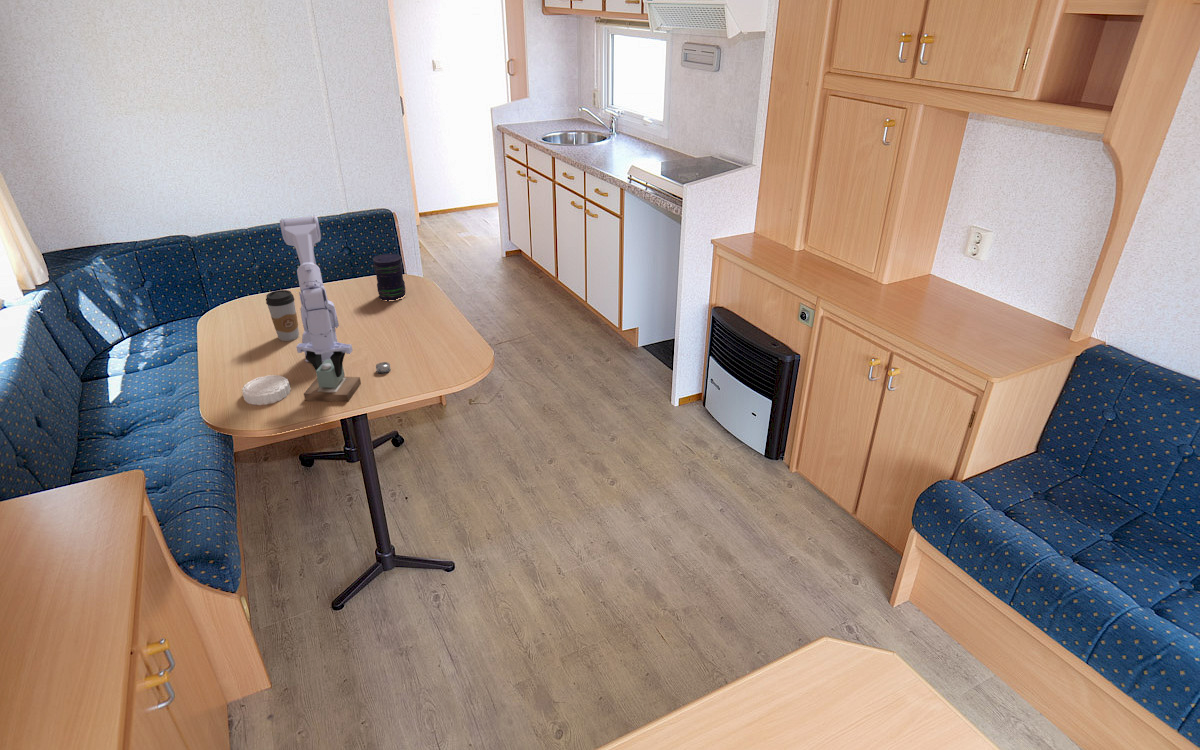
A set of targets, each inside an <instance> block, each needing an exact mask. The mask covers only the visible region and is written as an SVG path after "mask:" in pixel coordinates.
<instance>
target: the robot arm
mask: <svg viewBox="0 0 1200 750" xmlns="http://www.w3.org/2000/svg"><path fill="white" fill-rule="evenodd" d="M279 225H280V230H281V235H282V239H283V240H284V243H285V244H286V245H287V246H292V247H294V248H295V251H296V254H297V257H298V261H299V263H300V265H299V266H298V267H297V270H296V273H297V279H298V285H299V290H300V291H299V292H298V293H299V294H298V295H299V300H300V304H301V307H300V316H301V317H300V318H301V322H302V326H303V333H302V338H301V339H302V340H301V342H302V343H301V342H299V343H298V344H297V345H296V347H295V348H296V352H297V354H300V353H304V357H305V360H304V361H305V362H306V363H309V364H310V365H311V366H312V367H313V368H314V370H315V371H316V370H317V369H318V368H319V367H320V366H321V364H322V363H323V362H324V361H325V360H326V359H330V360H331V361H332V363H333V365H334V368H335V373H336V376H337V377H340V375H341V374H342V364H343V363H344V359H345V358H344V357H345V355H346V354H347V355H351V353H352V352H353V346H352V345H353V344H349V343H348V344H347V343H342V342H339V341H338V338H337V332H336V329H337V328H338V327H339V320H338V319H339V318H338V315H337V310H336V308H335V303H334V302H333V301H331V300H329V299H328V295H327V291H326V287H325V286H324V285H325V284H324V283H323V282H324V281H323V278H322V273H321V268H320V267H319V265H317V262H316V258H315V252H314V247H315V244H317V243H319V242H321V240H322V235H321V228H320V223H319V218H318V216H316V215H315V214H313V215H310V216H309V215H308V216H297V217H289V218H283V217H282V218H280V220H279Z"/></svg>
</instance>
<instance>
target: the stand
mask: <svg viewBox="0 0 1200 750" xmlns="http://www.w3.org/2000/svg"><path fill="white" fill-rule="evenodd" d="M361 384H362V382H361V377H360V376H344V377H343V378H342V380H341V381H340V382H339V384H338V385H337V386H336V387H335V388H329V387H319V384H318V379H317V377H316V378H315V379H314V381H313V382H312V383H311V384H310V386H309V387H307V390H305V391H304V393H303V396H304V400H305V401H310V402H349V401H350V400H351V399H352V397H353V396H354V394H355V393H356V392H357V390H358V389H359V387H360V386H361Z"/></svg>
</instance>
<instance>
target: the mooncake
mask: <svg viewBox="0 0 1200 750" xmlns="http://www.w3.org/2000/svg"><path fill="white" fill-rule="evenodd" d="M288 379H289V378H286V376H282V375H274V374H269V375H264V376H258V377H256V378H253V379H251V380H250V381H248V382H246V383H245V384H244V385H243V388H242V389H241V391H242V392H241V393H242V396H243V399H244V402H246V404H249V405H252V406H262V405H265V406H267V405H269V404H275V403H277V402H279V401H282V400H283V399H285V398H287V396H288V395H290V392H291V391H292V390H291V386H290V382H289V380H288Z"/></svg>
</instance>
